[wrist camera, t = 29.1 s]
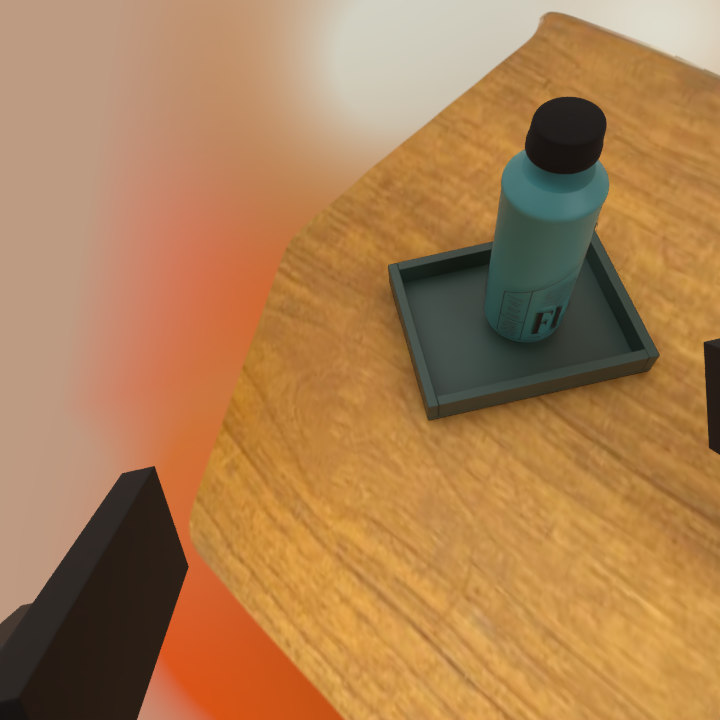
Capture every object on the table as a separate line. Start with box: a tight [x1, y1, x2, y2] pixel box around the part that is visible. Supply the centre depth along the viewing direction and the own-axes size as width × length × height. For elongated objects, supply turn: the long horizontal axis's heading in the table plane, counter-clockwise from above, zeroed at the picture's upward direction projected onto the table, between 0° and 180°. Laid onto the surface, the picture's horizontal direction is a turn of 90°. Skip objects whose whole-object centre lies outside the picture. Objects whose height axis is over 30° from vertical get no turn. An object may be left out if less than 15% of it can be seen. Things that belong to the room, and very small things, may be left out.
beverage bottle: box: [482, 97, 609, 342], centre depth 40 cm, size 6×7×20 cm
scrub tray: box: [388, 230, 660, 420], centre depth 49 cm, size 18×14×2 cm
